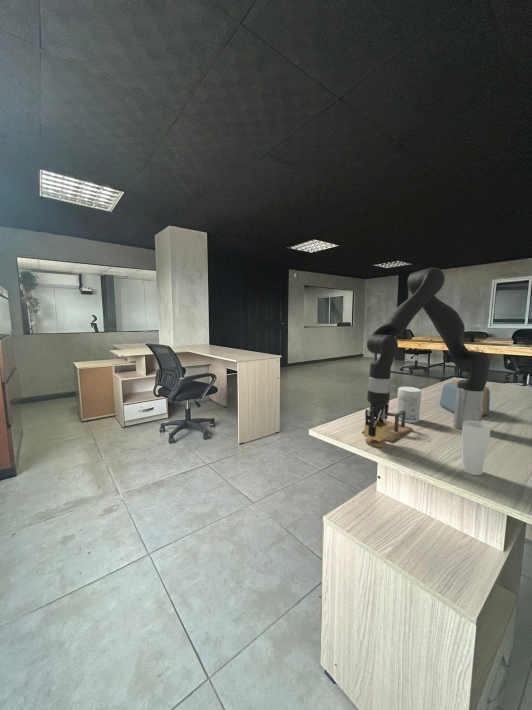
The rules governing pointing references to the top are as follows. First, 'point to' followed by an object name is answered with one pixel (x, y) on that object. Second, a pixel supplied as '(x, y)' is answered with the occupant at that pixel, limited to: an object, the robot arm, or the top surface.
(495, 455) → the top surface
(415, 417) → the supplement tub
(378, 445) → the end peg
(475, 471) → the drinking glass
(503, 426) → the top surface
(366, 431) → the yellow open box
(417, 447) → the top surface
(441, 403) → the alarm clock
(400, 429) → the wire board
